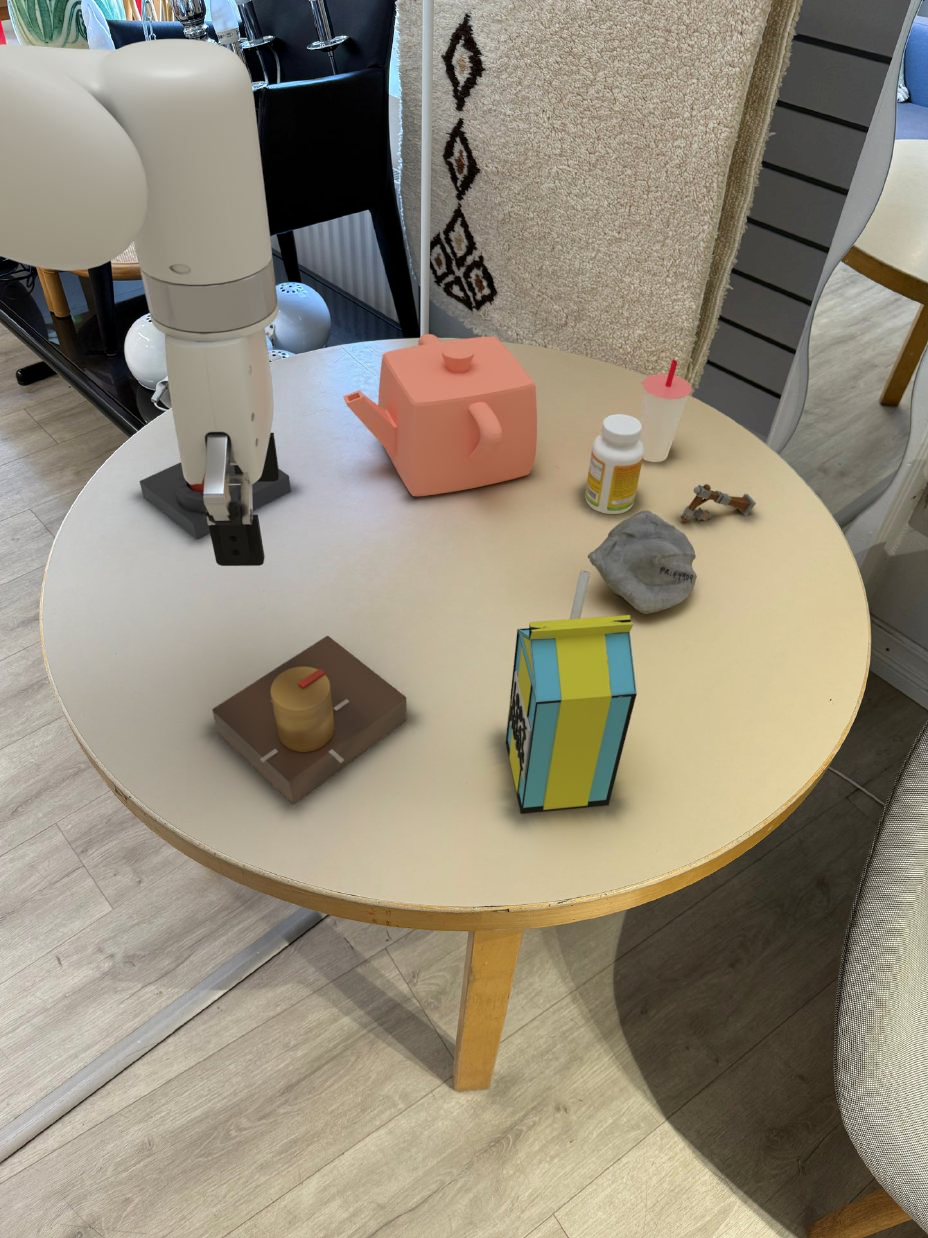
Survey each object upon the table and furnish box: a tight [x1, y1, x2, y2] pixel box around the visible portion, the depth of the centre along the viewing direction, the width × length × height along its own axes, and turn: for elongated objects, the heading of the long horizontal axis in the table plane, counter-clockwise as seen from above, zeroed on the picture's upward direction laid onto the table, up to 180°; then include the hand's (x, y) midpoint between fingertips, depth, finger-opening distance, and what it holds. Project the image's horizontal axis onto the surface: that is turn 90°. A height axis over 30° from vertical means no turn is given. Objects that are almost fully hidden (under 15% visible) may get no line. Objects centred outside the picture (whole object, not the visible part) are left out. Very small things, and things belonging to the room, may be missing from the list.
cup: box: [639, 358, 692, 463], centre depth 102 cm, size 5×5×12 cm
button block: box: [139, 461, 292, 541], centre depth 96 cm, size 12×10×4 cm
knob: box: [271, 667, 334, 752], centre depth 69 cm, size 4×4×5 cm
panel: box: [211, 635, 408, 805], centre depth 74 cm, size 12×11×3 cm
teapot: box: [343, 333, 538, 497], centre depth 98 cm, size 20×22×14 cm
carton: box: [505, 570, 638, 815], centre depth 66 cm, size 7×8×18 cm
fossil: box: [587, 510, 698, 615], centre depth 86 cm, size 11×9×8 cm
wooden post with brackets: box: [680, 483, 757, 522], centre depth 96 cm, size 2×8×4 cm, turn 108°
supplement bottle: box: [584, 413, 644, 515], centre depth 96 cm, size 5×5×10 cm
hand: (250, 519), depth 65 cm, fingers open, 9 cm apart
